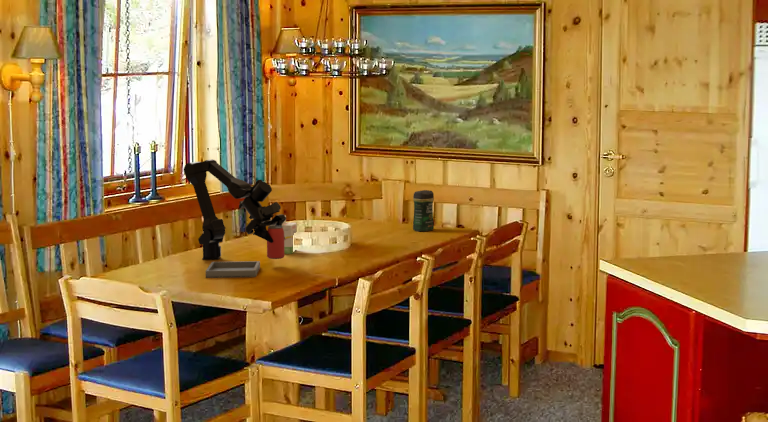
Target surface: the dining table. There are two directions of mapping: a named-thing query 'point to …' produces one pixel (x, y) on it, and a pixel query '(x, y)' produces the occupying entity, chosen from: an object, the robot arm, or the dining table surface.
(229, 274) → the parts tray
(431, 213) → the coffee jar
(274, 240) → the beer can
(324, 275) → the dining table surface
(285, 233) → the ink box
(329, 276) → the dining table surface
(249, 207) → the robot arm
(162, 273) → the dining table surface
